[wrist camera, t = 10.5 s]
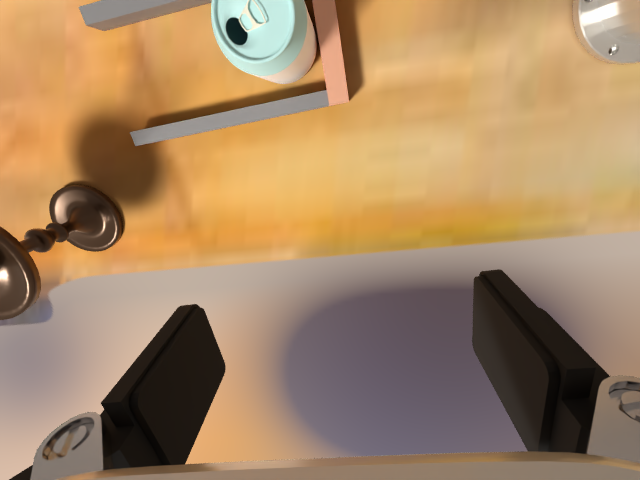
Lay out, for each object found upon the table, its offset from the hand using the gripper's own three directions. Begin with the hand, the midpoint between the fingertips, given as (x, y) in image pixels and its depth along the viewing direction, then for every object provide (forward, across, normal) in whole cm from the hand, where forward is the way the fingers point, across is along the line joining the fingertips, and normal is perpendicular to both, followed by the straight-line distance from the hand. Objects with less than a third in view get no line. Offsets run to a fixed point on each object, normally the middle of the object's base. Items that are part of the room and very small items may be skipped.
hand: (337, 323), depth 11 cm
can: (+28, +4, -13) cm, 32 cm away
